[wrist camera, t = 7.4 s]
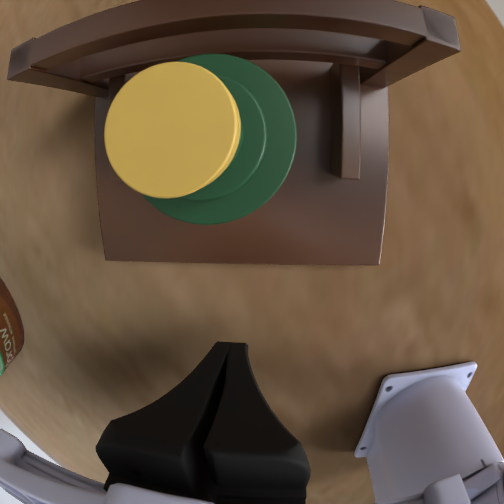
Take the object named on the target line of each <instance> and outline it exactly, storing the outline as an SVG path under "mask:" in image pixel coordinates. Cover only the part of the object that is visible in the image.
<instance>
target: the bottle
mask: <svg viewBox="0 0 504 504" xmlns="http://www.w3.org/2000/svg"><path fill="white" fill-rule="evenodd" d="M104 141H105V148H106V153H107V156H108V159H109V161H110V163H111V166H112V168H113V169H114V171H115V172H116V174H117V175H118V176H119V177H120V178H121V180H122V181H123V182H125V183H126V184H127V185H128V186H129V187H131V188H132V189H134V190H135V191H137V192H139V193H141V194H142V195H143V196H144V198H145V199H146V200H147V201H148V202H149V203H150V204H152V205H153V206H154V207H155V208H156V209H158V210H159V211H161V212H162V213H164V214H166V215H168V216H170V217H172V218H174V219H177V220H180V221H183V222H186V223H192V224H199V225H215V224H222V223H227V222H231V221H234V220H237V219H240V218H242V217H244V216H246V215H249V214H251V213H252V212H254V211H255V210H257V209H258V208H260V207H261V206H262V205H264V204H265V203H266V202H267V201H268V200H269V199H270V198H271V197H272V196H273V195H274V194H275V193H276V192H277V191H278V189H279V188H280V186H281V185H282V184H283V182H284V181H285V179H286V177H287V175H288V173H289V171H290V168H291V165H292V163H293V160H294V156H295V151H296V143H297V129H296V121H295V116H294V112H293V109H292V107H291V104H290V102H289V100H288V98H287V96H286V94H285V92H284V91H283V89H282V88H281V87H280V85H279V84H278V83H277V82H276V81H275V80H274V79H273V77H272V76H271V75H270V74H268V73H267V72H266V71H264V70H263V69H262V68H260V67H259V66H257V65H255V64H253V63H252V62H250V61H247V60H245V59H242V58H240V57H236V56H231V55H226V54H201V55H194V56H191V57H187V58H184V59H181V60H179V61H177V62H166V63H161V64H157V65H154V66H152V67H149V68H147V69H145V70H143V71H141V72H139V73H138V74H136V75H135V76H134V77H132V78H131V79H130V80H129V81H128V82H127V83H126V84H125V85H124V86H123V87H122V88H121V89H120V91H119V92H118V93H117V95H116V96H115V98H114V100H113V102H112V104H111V106H110V108H109V111H108V114H107V117H106V122H105V129H104Z"/></svg>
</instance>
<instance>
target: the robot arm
mask: <svg viewBox="0 0 504 504" xmlns="http://www.w3.org/2000/svg"><path fill="white" fill-rule="evenodd" d="M476 368H477V364H476V363H475V362H474V361H472V362H467V363H462V364H457V365H452V366H446V367H441V368H435V369H428V370H422V371H415V372H407V373H399V374H391V375H388V376H386V377H385V378H384V379H383V380H382V383H381V386H380V389H379V392H378V395H377V398H376V400H375V403H374V406H373V408H372V411H371V414H370V416H369V419H368V421H367V424H366V426H365V429H364V431H363V434H362V436H361V438H360V441H359V443H358V445H357V447H356V450H355V452H354V455H355V457H366V458H367V463H368V467H369V472H370V476H371V481H372V485H373V490H374V495H375V500H376V503H375V504H504V459H503V457H502V455H501V453H500V452H499V450H498V448H497V446H496V444H495V442H494V440H493V439H492V437H491V435H490V433H489V431H488V430H487V428H486V426H485V425H484V423H483V421H482V419H481V418H480V416H479V414H478V413H477V411H476V409H475V408H474V406H473V404H472V403H471V401H470V400H469V398H468V396H467V395H466V393H465V391H466V389H467V387H468V385H469V383H470V381H471V379H472V377H473V374H474V372H475V370H476ZM387 387H388V388H387ZM96 452H97V454H98V456H99V458H100V460H101V461H102V463H103V464H104V466H105V467H106V468H107V470H108V471H109V476H108V478H107V480H106V482H105V484H103V483H100V482H97V481H95V480H92V479H89V478H87V477H84V476H82V475H79V474H77V473H74V472H72V471H69V470H67V469H65V468H62V467H60V466H58V465H56V464H54V463H51V462H49V461H47V460H45V459H43V458H41V457H39V456H37V455H35V454H34V453H31V452H29V451H28V450H26V448H25V446H24V445H23V443H22V442H21V441H20V440H19V439H17V438H16V437H15V436H13V435H11V434H10V433H8V432H6V431H4V430H3V429H0V486H1V487H2V488H3V489H4V490H5V491H6V492H8V493H9V494H11V495H12V496H14V497H15V498H16V499H18V500H19V501H21V502H22V503H24V504H305V499H306V486H307V483H308V480H309V478H310V466H309V462H308V459H307V456H306V454H305V451H304V449H303V447H302V445H301V443H300V442H299V441H298V440H297V439H296V438H295V437H294V436H293V435H292V434H291V433H290V432H289V431H288V430H287V429H286V428H285V427H284V425H283V424H282V423H281V422H280V421H279V419H278V418H277V417H276V415H275V414H274V413H273V411H272V410H271V408H270V407H269V405H268V404H267V402H266V400H265V399H264V397H263V395H262V393H261V391H260V389H259V387H258V385H257V382H256V380H255V378H254V375H253V372H252V369H251V366H250V362H249V357H248V345H247V344H246V343H234V342H217V343H215V345H214V346H213V347H212V349H211V350H210V351H209V353H208V354H207V355H206V356H205V358H204V359H203V360H202V361H201V362H200V363H199V364H198V366H197V367H196V368H195V369H194V370H193V371H192V372H191V373H190V374H189V375H188V376H187V377H186V378H185V379H184V380H183V381H182V382H181V383H179V384H178V385H177V386H176V387H175V388H173V389H172V390H171V391H169V392H168V393H167V394H165V395H164V396H162V397H161V398H159V399H158V400H156V401H155V402H153V403H151V404H149V405H148V406H146V407H144V408H142V409H140V410H137V411H135V412H133V413H131V414H128V415H125V416H123V417H120V418H117V419H114V420H111V421H110V423H109V424H108V426H107V427H106V429H105V430H104V432H103V434H102V436H101V438H100V440H99V442H98V443H97V445H96Z"/></svg>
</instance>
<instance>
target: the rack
mask: <svg viewBox="0 0 504 504" xmlns="http://www.w3.org/2000/svg"><path fill="white" fill-rule="evenodd" d="M460 51H461V48H460V42H459V37H458V32H457V27H456V22H455V18H454V17H453V16H450V15H447V14H445V13H442V12H439V11H437V10H434V9H431V8H428V7H425V6H422V5H420V6H418V7H416V6H413V5H409V4H406V3H402V2H398V1H394V0H140V1H136V2H132V3H128V4H125V5H121V6H118V7H114V8H111V9H108V10H105V11H102V12H99V13H96V14H93V15H90V16H88V17H85V18H82V19H80V20H77V21H75V22H72V23H70V24H67V25H65V26H63V27H60V28H58V29H56V30H54V31H51V32H49V33H47V34H45V35H43V36H41V37H39V38H32V39H30V40H28V41H26V42H24V43H23V44H21V45H19V46H17V47H15V48H14V49H12V50H11V56H10V62H9V69H8V76H7V80H11V81H18V82H24V83H31V84H37V85H42V86H48V87H53V88H58V89H63V90H68V91H73V92H77V93H82V94H86V95H91V96H95V162H96V180H97V194H98V205H99V215H100V223H101V232H102V239H103V246H104V253H105V259H106V260H113V261H147V262H185V263H230V264H289V265H379V264H380V257H381V249H382V241H383V232H384V222H385V211H386V199H387V184H388V163H389V98H388V86H389V85H391V84H393V83H395V82H397V81H399V80H401V79H403V78H405V77H407V76H409V75H411V74H413V73H415V72H417V71H419V70H421V69H423V68H425V67H427V66H430V65H432V64H434V63H436V62H438V61H440V60H443V59H445V58H447V57H449V56H451V55H454V54H456V53H458V52H460ZM201 54H226V55H231V56H236V57H240V58H242V59H245V60H247V61H250V62H252V63H253V64H255V65H257V66H259V67H260V68H262V69H263V70H264V71H266V72H267V73H268V74H270V75H271V76H272V77H273V79H274V80H275V81H276V82H277V83H278V84H279V85H280V87H281V88H282V89H283V91H284V92H285V94H286V96H287V98H288V100H289V102H290V104H291V107H292V109H293V112H294V116H295V121H296V129H297V143H296V151H295V156H294V160H293V163H292V165H291V168H290V171H289V173H288V175H287V177H286V179H285V181H284V182H283V184H282V185H281V186H280V188H279V189H278V191H277V192H276V193H275V194H274V195H273V196H272V197H271V198H270V199H269V200H268V201H267V202H266V203H265V204H264V205H262V206H261V207H260V208H258V209H257V210H255V211H254V212H252V213H251V214H249V215H246V216H244V217H242V218H240V219H237V220H234V221H231V222H227V223H222V224H215V225H199V224H192V223H186V222H183V221H180V220H177V219H174V218H172V217H170V216H168V215H166V214H164V213H162V212H161V211H159V210H158V209H156V208H155V207H154V206H153V205H152V204H150V203H149V202H148V201H147V200H146V199H145V198H144V196H143V195H142V194H141V193H139V192H137V191H135V190H134V189H132V188H131V187H129V186H128V185H127V184H126V183H125V182H123V181H122V180H121V178H120V177H119V176H118V175H117V174H116V172H115V171H114V169H113V168H112V166H111V163H110V161H109V159H108V156H107V153H106V148H105V141H104V129H105V122H106V117H107V114H108V111H109V108H110V106H111V104H112V102H113V100H114V98H115V96H116V95H117V93H118V92H119V91H120V89H121V88H122V87H123V86H124V85H125V84H126V83H127V82H128V81H129V80H130V79H131V78H132V77H134V76H135V75H136V74H138V73H139V72H141V71H143V70H145V69H147V68H149V67H152V66H154V65H157V64H161V63H166V62H177V61H179V60H181V59H184V58H187V57H191V56H194V55H201Z"/></svg>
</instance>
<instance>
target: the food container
mask: <svg viewBox="0 0 504 504" xmlns="http://www.w3.org/2000/svg"><path fill="white" fill-rule="evenodd" d="M23 343H24V331H23V325H22V321H21V318H20V315H19V312H18V309H17V307H16V305H15V302H14V300H13V298H12V296H11V294H10V292H9V291H8V289H7V287H6V286H5V284H4V282H3V281H2V279H1V278H0V376H1V374H2V373H3V372H4V370H5V369H6V368H7V367H8V365H9V364H10V363H11V362H12V360H13V359H14V358H15V357H16V355H17V354H18V353H19V352H20V351H21V349H22V346H23Z"/></svg>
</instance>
